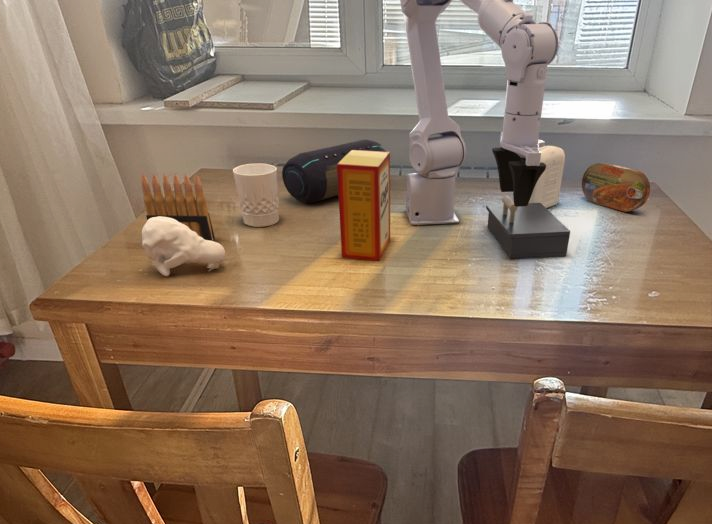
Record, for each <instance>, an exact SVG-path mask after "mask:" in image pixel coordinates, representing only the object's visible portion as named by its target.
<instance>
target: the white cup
mask: <svg viewBox="0 0 712 524" xmlns="http://www.w3.org/2000/svg"><path fill="white" fill-rule="evenodd" d="M277 168H278V167H276V166H275V165H274V164H269V163H262V162H261V163H257V162H256V163H246V164H241V165H238V166H235V167H234V168H233V169H232V174H233V175H232V176H233V180H234V185H235V190H236V195H237V198H238V203H239V209H240V210H241V214H242V219H243V224H245V225H247V226H249V227H255V228H262V227H264V228H265V227H269V226H270V227H271V226H273V225H275V224H277V223H278V222H279V221H280V211H279V206H280V204H279V202H280V201H279V186H278V184H279V183H278V182H279V181H278V170H277Z"/></svg>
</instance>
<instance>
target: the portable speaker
mask: <svg viewBox="0 0 712 524" xmlns="http://www.w3.org/2000/svg"><path fill="white" fill-rule="evenodd" d="M351 150H364V151H380V152H387V151H386V150H385V148H384V147H383V146H382V144H381V143H379V142H377V141H375V140H373V139H372V140H371V139H360V140H356V141H349V142H346V143H342V144H341V143H340V144H338V145H333V146H328V147H322V148H318V149H314V150H310V151H305V152H300V153H298V154H297V155H295V156H293V157H291V158H290V159H288V160H287V161H286V162H285V164H284V165H283V167H282V170H281V178H282V181H283V185H284V187H285V188H286V190H287V192H288V193H289V195H290V196H291V197H292V198H293V199H295V200H296V201H299V202H302V203H314V202H319V201H323V200H327V199H329V198H334V197H337V196H339V195H338V177H337V164H338V163H339V162H340V161H341V160H342V159H343V158H344V157H345V156H346V155H347V154H348V153H349V152H350V151H351Z"/></svg>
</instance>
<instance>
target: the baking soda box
mask: <svg viewBox="0 0 712 524" xmlns="http://www.w3.org/2000/svg"><path fill="white" fill-rule="evenodd" d="M337 177H338V195H337V196H338V211H339V212H338V213H339V231H340V246H341V247H340V248H341V259H352V260H366V261H375V262H377V261H378V262H380V261H381V259H382V257H383V255H384V253H385V251H386V250H387V247H388V245H389V244H390V241H391V152H390V151H386V152H380V151H364V150H351V151H350V152H349V153H348V154H347V155H346V156H345V157H344V158H343V159H342V160H341V161H340V162H339V163H338V164H337Z"/></svg>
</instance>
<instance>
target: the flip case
mask: <svg viewBox="0 0 712 524" xmlns="http://www.w3.org/2000/svg"><path fill="white" fill-rule="evenodd" d="M486 228H487V229H488V231H489V232H490V233H491V235H492V236H493V237H494V239H495V240H496V241H497V243H498V244H499V245H500V247H501V249H503V251H504V252H505V254H506V255H507V256H508V258H509V259H510V260H517V259H536V258H537V259H539V258H540V259H541V258H557V257H558V258H559V257H567V253H568V247H569V242H570V237H571V235H564V236H544V237H524V238H509V237H508V236H507V234H506V233H505V232H504V231H503V229H502V228H501V227H500V226H499V224H498V223H497V222H496V220H495V219H494V218H493V217H492V215H491V214H490V213H489V212H488V217H487V227H486Z"/></svg>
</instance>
